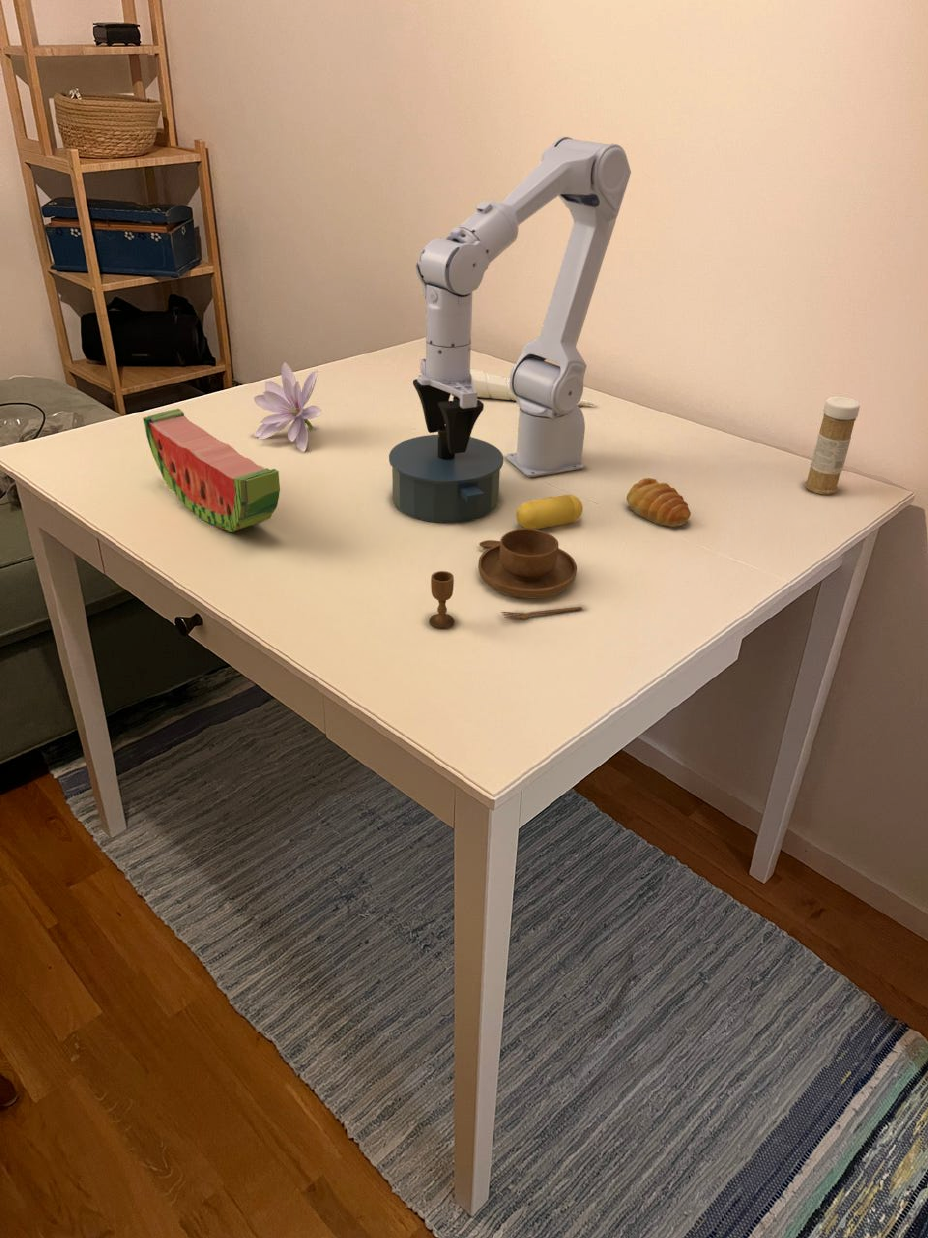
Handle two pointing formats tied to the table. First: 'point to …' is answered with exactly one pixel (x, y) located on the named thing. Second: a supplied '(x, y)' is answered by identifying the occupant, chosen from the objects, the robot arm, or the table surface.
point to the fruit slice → (211, 473)
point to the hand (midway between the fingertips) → (446, 441)
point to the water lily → (287, 407)
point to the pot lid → (445, 460)
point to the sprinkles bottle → (832, 444)
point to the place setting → (514, 572)
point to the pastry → (658, 503)
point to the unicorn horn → (497, 387)
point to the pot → (445, 499)
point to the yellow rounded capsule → (549, 512)
